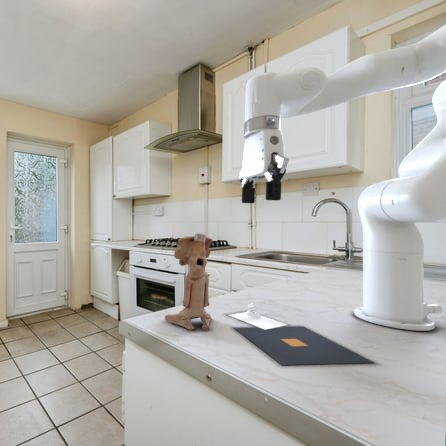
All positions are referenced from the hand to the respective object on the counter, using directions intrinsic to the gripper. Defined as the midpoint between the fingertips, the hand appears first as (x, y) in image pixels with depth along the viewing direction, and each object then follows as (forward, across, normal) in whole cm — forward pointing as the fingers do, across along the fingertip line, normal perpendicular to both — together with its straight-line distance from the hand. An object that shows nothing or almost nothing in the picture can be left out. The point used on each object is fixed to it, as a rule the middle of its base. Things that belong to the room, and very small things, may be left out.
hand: (259, 201), depth 65 cm
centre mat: (+27, -15, +2) cm, 31 cm away
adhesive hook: (+27, -3, +2) cm, 28 cm away
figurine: (+28, -5, +18) cm, 33 cm away
